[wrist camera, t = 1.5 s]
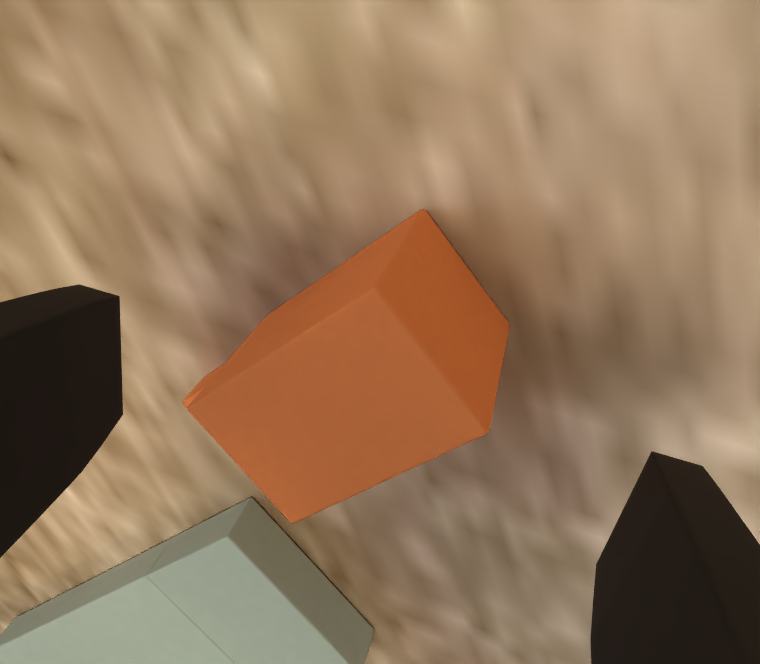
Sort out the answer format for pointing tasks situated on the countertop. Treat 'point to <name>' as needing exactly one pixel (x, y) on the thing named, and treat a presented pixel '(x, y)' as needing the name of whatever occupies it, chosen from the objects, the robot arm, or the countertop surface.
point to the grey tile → (199, 605)
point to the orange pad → (360, 374)
